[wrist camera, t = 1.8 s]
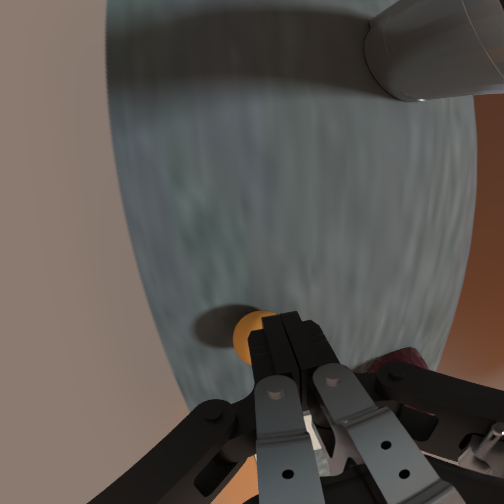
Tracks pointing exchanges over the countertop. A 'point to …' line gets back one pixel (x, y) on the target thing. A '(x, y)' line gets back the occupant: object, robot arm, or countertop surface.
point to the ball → (247, 332)
